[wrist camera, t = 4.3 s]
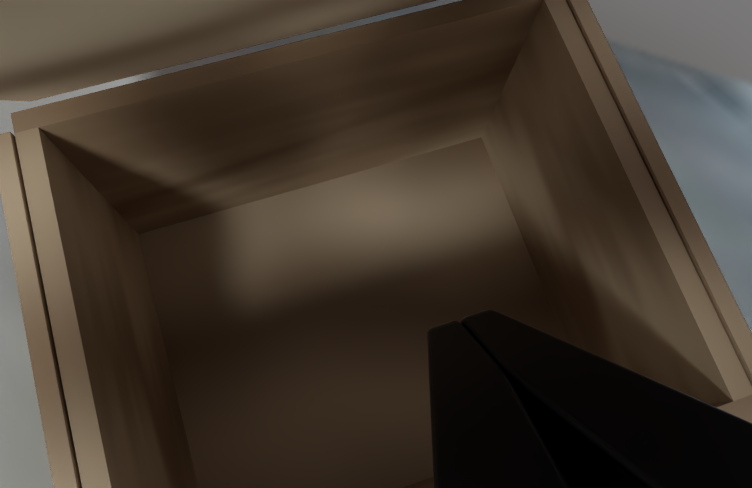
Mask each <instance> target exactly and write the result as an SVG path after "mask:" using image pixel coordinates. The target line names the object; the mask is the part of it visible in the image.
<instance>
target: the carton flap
mask: <svg viewBox="0 0 752 488" xmlns="http://www.w3.org/2000/svg"><path fill="white" fill-rule="evenodd" d="M432 1H436V0H0V100H11V101H34V100H38V99H42V98H46V97H50V96H54V95H58V94H62V93H66V92H70V91H74V90H79V89H83V88H87V87H91V86H95V85H99V84H103V83H107V82H111V81H115V80H119V79H123V78H127V77H131V76H135V75H139V74H143V73H147V72H151V71H155V70H159V69H163V68H167V67H171V66H175V65H179V64H183V63H187V62H191V61H195V60H199V59H203V58H207V57H211V56H215V55H219V54H223V53H227V52H231V51H235V50H239V49H243V48H247V47H251V46H255V45H259V44H263V43H267V42H271V41H275V40H280V39H284V38H288V37H292V36H296V35H300V34H304V33H308V32H312V31H316V30H320V29H324V28H328V27H332V26H336V25H340V24H344V23H348V22H352V21H356V20H360V19H364V18H368V17H372V16H376V15H380V14H384V13H388V12H392V11H396V10H400V9H404V8H408V7H412V6H416V5H420V4H424V3H428V2H432Z"/></svg>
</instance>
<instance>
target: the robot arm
mask: <svg viewBox="0 0 752 488" xmlns="http://www.w3.org/2000/svg"><path fill="white" fill-rule="evenodd" d="M427 345H428V367H429V389H430V411H431V433H432V455H433V477H434V488H752V423H751V422H749V421H746V420H744V419H742V418H739V417H737V416H735V415H733V414H730V413H728V412H726V411H723V410H721V409H719V408H717V407H714V406H712V405H710V404H707V403H705V402H703V401H701V400H698V399H696V398H694V397H691V396H689V395H687V394H685V393H682V392H680V391H678V390H675V389H673V388H671V387H669V386H666V385H664V384H662V383H659V382H657V381H655V380H653V379H650V378H648V377H646V376H644V375H641V374H639V373H637V372H634V371H632V370H630V369H628V368H625V367H623V366H621V365H618V364H616V363H614V362H612V361H609V360H607V359H605V358H602V357H600V356H598V355H596V354H593V353H591V352H589V351H586V350H584V349H582V348H580V347H577V346H575V345H573V344H570V343H568V342H566V341H564V340H561V339H559V338H557V337H554V336H552V335H550V334H548V333H545V332H543V331H541V330H539V329H536V328H534V327H532V326H529V325H527V324H525V323H523V322H520V321H518V320H516V319H513V318H511V317H509V316H507V315H504V314H502V313H500V312H497V311H495V310H490V309H489V310H484V311H481V312H478V313H475V314H472V315H469V316H466V317H464V318H462V320H461V321H460V322H459V321H450V322H447V323H444V324H441V325H438V326H435V327H432V328H430V329H429V330H428V332H427Z"/></svg>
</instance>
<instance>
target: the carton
mask: <svg viewBox="0 0 752 488" xmlns="http://www.w3.org/2000/svg"><path fill="white" fill-rule="evenodd" d="M11 118H12V123H13V128H14V133H15V136H14V135H13V134H12V133H11V132H7V133H3V134H0V192H1V197H2V203H3V209H4V214H5V220H6V225H7V231H8V236H9V242H10V247H11V253H12V259H13V264H14V270H15V275H16V281H17V286H18V292H19V298H20V303H21V309H22V314H23V320H24V325H25V331H26V336H27V342H28V348H29V353H30V359H31V364H32V370H33V375H34V381H35V387H36V392H37V398H38V403H39V409H40V414H41V420H42V425H43V431H44V437H45V442H46V448H47V453H48V459H49V464H50V470H51V476H52V481H53V487H54V488H434V477H433V455H432V433H431V411H430V389H429V367H428V345H427V332H428V330H429V329H430V328H432V327H435V326H438V325H441V324H444V323H447V322H450V321H459V322H460V321H461V320H462V318H464V317H466V316H469V315H472V314H475V313H478V312H481V311H484V310H489V309H490V310H495V311H497V312H500V313H502V314H504V315H507V316H509V317H511V318H513V319H516V320H518V321H520V322H523V323H525V324H527V325H529V326H532V327H534V328H536V329H539V330H541V331H543V332H545V333H548V334H550V335H552V336H554V337H557V338H559V339H561V340H564V341H566V342H568V343H570V344H573V345H575V346H577V347H580V348H582V349H584V350H586V351H589V352H591V353H593V354H596V355H598V356H600V357H602V358H605V359H607V360H609V361H612V362H614V363H616V364H618V365H621V366H623V367H625V368H628V369H630V370H632V371H634V372H637V373H639V374H641V375H644V376H646V377H648V378H650V379H653V380H655V381H657V382H659V383H662V384H664V385H666V386H669V387H671V388H673V389H675V390H678V391H680V392H682V393H685V394H687V395H689V396H691V397H694V398H696V399H698V400H701V401H703V402H705V403H707V404H710V405H712V406H714V407H717V408H719V409H721V410H723V411H726V412H728V413H730V414H733V415H735V416H737V417H739V418H742V419H744V420H746V421H749V422H751V423H752V333H751V331H750V329H749V327H748V325H747V323H746V321H745V319H744V317H743V315H742V313H741V311H740V309H739V307H738V305H737V303H736V301H735V299H734V297H733V295H732V293H731V291H730V289H729V287H728V285H727V283H726V281H725V279H724V276H723V274H722V272H721V270H720V268H719V266H718V264H717V262H716V260H715V258H714V256H713V254H712V252H711V250H710V248H709V246H708V244H707V242H706V240H705V238H704V236H703V234H702V232H701V230H700V228H699V226H698V224H697V222H696V220H695V218H694V216H693V214H692V212H691V210H690V207H689V205H688V203H687V201H686V199H685V197H684V195H683V193H682V191H681V189H680V187H679V185H678V183H677V181H676V179H675V177H674V175H673V173H672V171H671V169H670V167H669V165H668V163H667V161H666V159H665V157H664V155H663V153H662V151H661V149H660V147H659V145H658V143H657V141H656V138H655V136H654V134H653V132H652V130H651V128H650V126H649V124H648V122H647V120H646V118H645V116H644V114H643V112H642V110H641V108H640V106H639V104H638V102H637V100H636V98H635V96H634V94H633V92H632V90H631V88H630V86H629V84H628V82H627V80H626V78H625V76H624V74H623V72H622V69H621V67H620V65H619V63H618V61H617V59H616V57H615V55H614V53H613V51H612V49H611V47H610V45H609V43H608V41H607V39H606V37H605V35H604V33H603V31H602V29H601V27H600V25H599V23H598V21H597V19H596V17H595V15H594V13H593V11H592V9H591V7H590V5H589V3H588V1H587V0H462V1H458V2H454V3H450V4H446V5H442V6H438V7H434V8H430V9H426V10H422V11H418V12H414V13H410V14H406V15H402V16H398V17H394V18H390V19H386V20H382V21H378V22H374V23H370V24H366V25H362V26H358V27H354V28H350V29H346V30H342V31H338V32H334V33H330V34H326V35H322V36H318V37H314V38H310V39H306V40H302V41H298V42H294V43H290V44H286V45H282V46H278V47H274V48H270V49H266V50H262V51H258V52H254V53H250V54H246V55H242V56H238V57H234V58H230V59H226V60H222V61H218V62H214V63H210V64H206V65H202V66H198V67H194V68H190V69H186V70H182V71H178V72H174V73H170V74H166V75H162V76H158V77H154V78H150V79H146V80H142V81H138V82H134V83H130V84H126V85H122V86H118V87H114V88H110V89H106V90H102V91H98V92H94V93H90V94H86V95H82V96H78V97H74V98H70V99H66V100H62V101H58V102H54V103H50V104H46V105H42V106H38V107H34V108H30V109H26V110H22V111H18V112H14V113H11Z"/></svg>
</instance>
